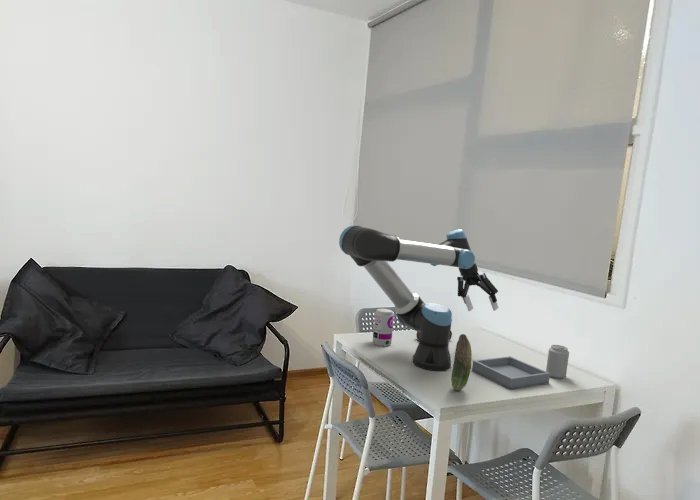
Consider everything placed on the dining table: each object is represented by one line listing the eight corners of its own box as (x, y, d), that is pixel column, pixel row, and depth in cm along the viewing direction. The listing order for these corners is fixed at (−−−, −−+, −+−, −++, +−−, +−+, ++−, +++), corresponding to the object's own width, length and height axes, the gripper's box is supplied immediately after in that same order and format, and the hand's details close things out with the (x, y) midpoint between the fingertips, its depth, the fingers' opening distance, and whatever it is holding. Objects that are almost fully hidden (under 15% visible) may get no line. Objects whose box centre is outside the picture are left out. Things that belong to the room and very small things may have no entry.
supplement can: (394, 343, 229) (397, 310, 227) (385, 347, 222) (388, 313, 220) (378, 339, 233) (381, 307, 232) (369, 343, 226) (372, 309, 225)
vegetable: (457, 385, 184) (463, 331, 182) (472, 391, 180) (478, 335, 177) (447, 388, 180) (453, 332, 178) (461, 395, 176) (468, 337, 173)
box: (510, 389, 185) (511, 378, 184) (471, 370, 202) (472, 360, 202) (548, 383, 195) (550, 373, 194) (509, 365, 212) (510, 356, 212)
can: (563, 381, 199) (568, 350, 197) (543, 376, 203) (547, 346, 201) (567, 376, 205) (571, 346, 204) (547, 371, 209) (551, 342, 208)
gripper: (495, 258, 213) (512, 304, 216) (450, 263, 233) (466, 306, 236) (485, 265, 209) (502, 313, 212) (439, 270, 229) (456, 313, 232)
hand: (483, 309), depth 224 cm, fingers open, 13 cm apart
